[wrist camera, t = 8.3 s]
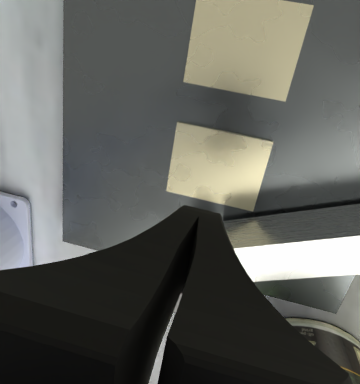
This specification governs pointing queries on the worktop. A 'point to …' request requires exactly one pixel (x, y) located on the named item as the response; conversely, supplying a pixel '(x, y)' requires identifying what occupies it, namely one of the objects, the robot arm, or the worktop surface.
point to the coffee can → (332, 344)
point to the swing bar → (298, 243)
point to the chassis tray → (210, 117)
